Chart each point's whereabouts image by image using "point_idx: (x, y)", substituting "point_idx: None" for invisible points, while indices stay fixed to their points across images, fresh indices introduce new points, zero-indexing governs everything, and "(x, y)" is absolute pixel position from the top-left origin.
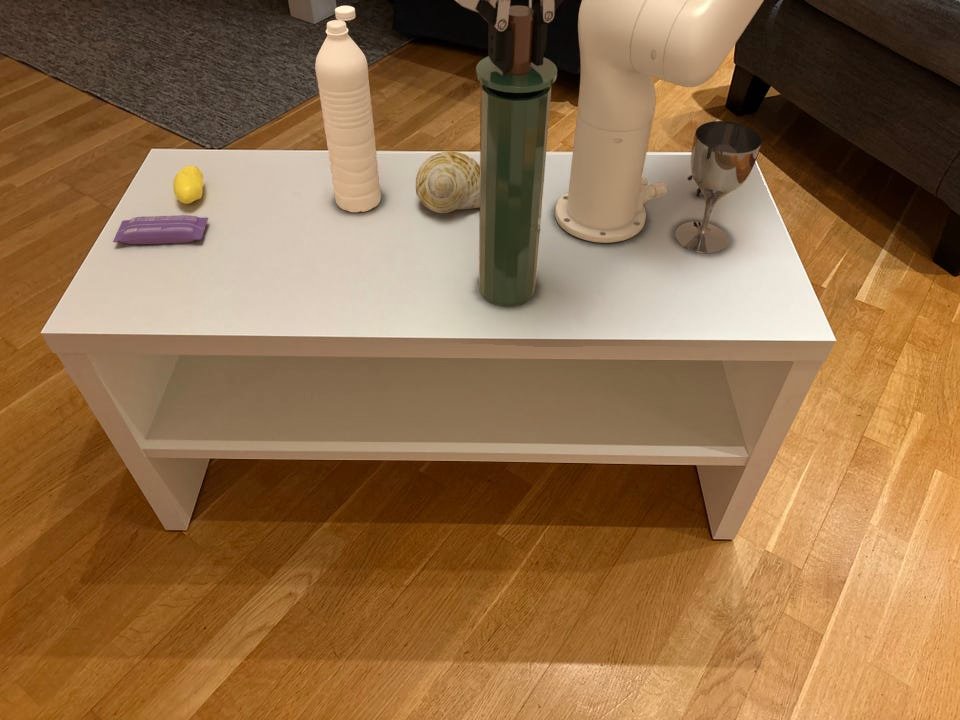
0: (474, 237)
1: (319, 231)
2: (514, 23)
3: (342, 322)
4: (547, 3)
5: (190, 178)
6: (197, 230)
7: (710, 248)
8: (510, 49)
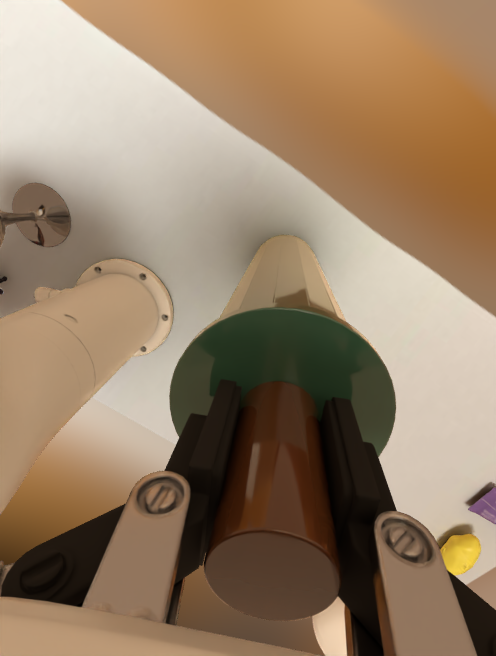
0: None
1: (387, 442)
2: (327, 525)
3: (460, 315)
4: (150, 552)
5: (463, 559)
6: (489, 499)
7: (43, 191)
8: (348, 440)
